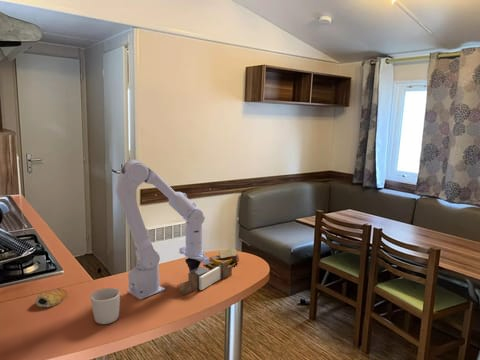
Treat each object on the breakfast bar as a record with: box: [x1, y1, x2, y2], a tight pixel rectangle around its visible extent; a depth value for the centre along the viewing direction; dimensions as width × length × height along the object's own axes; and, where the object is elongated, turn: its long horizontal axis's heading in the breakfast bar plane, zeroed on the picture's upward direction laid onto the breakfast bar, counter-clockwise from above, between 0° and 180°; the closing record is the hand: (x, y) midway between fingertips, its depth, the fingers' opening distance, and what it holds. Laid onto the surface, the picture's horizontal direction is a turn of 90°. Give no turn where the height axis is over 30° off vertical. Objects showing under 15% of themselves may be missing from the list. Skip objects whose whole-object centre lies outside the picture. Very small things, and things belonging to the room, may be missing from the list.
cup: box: [89, 287, 121, 325], centre depth 108 cm, size 11×8×8 cm
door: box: [198, 265, 222, 291], centre depth 129 cm, size 11×1×5 cm, turn 146°
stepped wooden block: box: [179, 260, 233, 296], centre depth 129 cm, size 22×2×6 cm, turn 135°
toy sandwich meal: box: [206, 248, 240, 269], centre depth 148 cm, size 12×14×5 cm
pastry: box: [34, 287, 68, 308], centre depth 118 cm, size 9×7×4 cm
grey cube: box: [189, 265, 211, 289], centre depth 129 cm, size 5×5×5 cm
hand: (194, 277), depth 132 cm, fingers closed, pressing on grey cube
